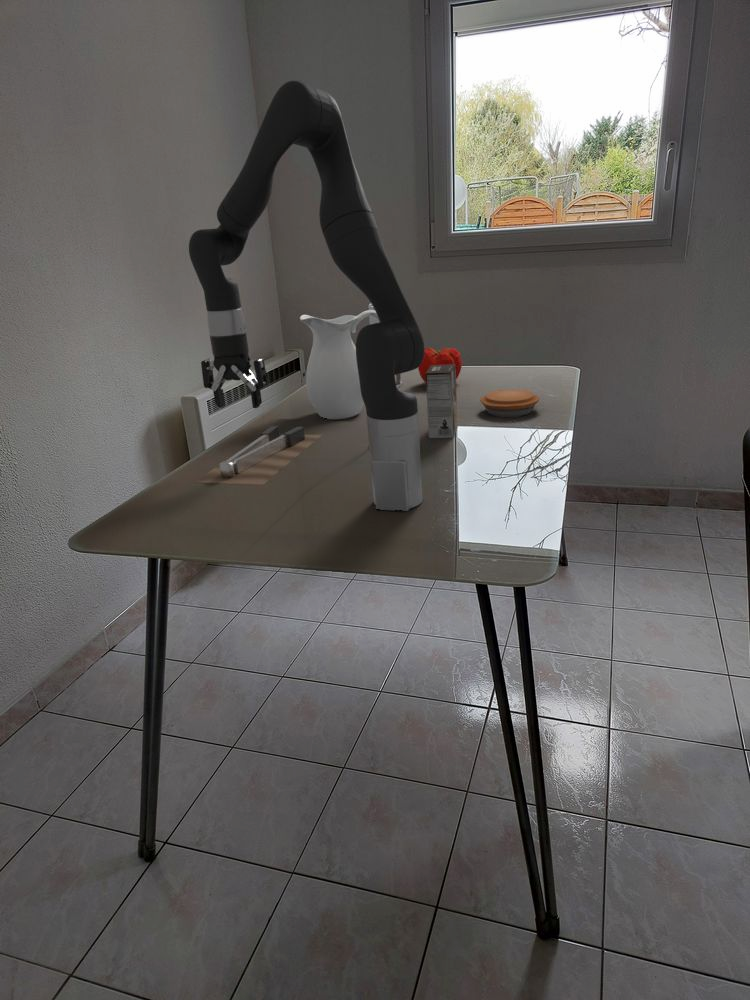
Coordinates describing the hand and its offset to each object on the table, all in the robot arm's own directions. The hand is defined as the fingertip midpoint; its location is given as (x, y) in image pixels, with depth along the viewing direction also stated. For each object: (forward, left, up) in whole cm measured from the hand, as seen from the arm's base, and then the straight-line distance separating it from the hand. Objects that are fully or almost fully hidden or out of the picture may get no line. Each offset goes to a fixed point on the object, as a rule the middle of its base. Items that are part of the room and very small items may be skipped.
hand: (239, 407), depth 145 cm
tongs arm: (+5, -4, -13) cm, 14 cm away
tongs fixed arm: (+4, 0, -13) cm, 13 cm away
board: (+4, -2, -14) cm, 15 cm away
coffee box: (+29, -39, -14) cm, 51 cm away
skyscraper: (+77, -11, -14) cm, 79 cm away
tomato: (+81, -28, -15) cm, 87 cm away
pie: (+49, -53, -15) cm, 74 cm away
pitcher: (+47, -9, -14) cm, 50 cm away
